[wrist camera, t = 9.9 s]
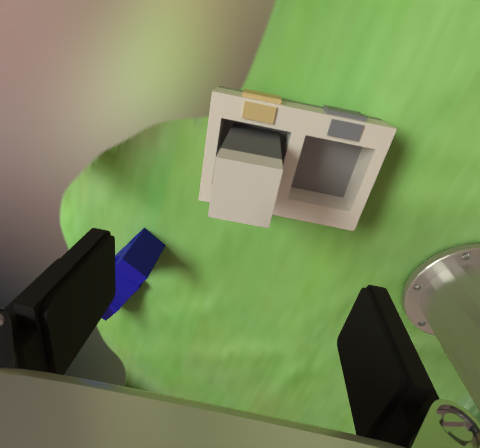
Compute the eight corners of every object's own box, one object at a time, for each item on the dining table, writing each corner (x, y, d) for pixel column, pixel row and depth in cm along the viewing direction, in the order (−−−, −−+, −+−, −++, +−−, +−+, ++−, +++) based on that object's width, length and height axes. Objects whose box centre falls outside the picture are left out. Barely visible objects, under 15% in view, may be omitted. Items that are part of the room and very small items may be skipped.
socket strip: (381, 115, 26) (399, 125, 23) (344, 210, 31) (354, 232, 27) (220, 82, 26) (212, 87, 23) (206, 183, 31) (197, 200, 27)
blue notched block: (116, 303, 40) (93, 340, 35) (87, 282, 39) (58, 318, 34) (175, 252, 36) (159, 287, 30) (144, 227, 34) (122, 258, 29)
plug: (278, 131, 27) (283, 169, 18) (269, 175, 29) (268, 228, 20) (233, 122, 27) (215, 157, 18) (226, 166, 29) (207, 216, 20)
